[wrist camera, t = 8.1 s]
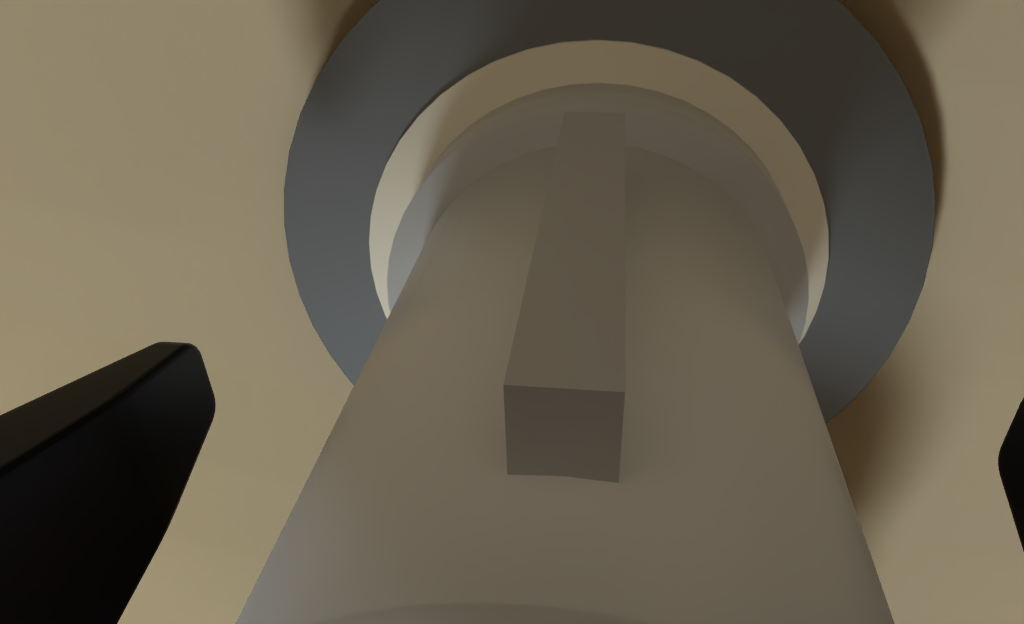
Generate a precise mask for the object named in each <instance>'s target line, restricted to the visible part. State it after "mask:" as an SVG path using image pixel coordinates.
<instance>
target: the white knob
mask: <svg viewBox="0 0 1024 624" xmlns="http://www.w3.org/2000/svg"><path fill="white" fill-rule="evenodd" d="M387 290H388V305H389V309H390V315H389V317H388V319H387V321H386V323H385V325H384V327H383V329H382V331H381V333H380V335H379V337H378V339H377V341H376V343H375V345H374V347H373V349H372V351H371V353H370V355H369V357H368V359H367V361H366V363H365V365H364V367H363V369H362V371H361V373H360V375H359V377H358V379H357V381H356V383H355V385H354V387H353V389H352V391H351V393H350V395H349V397H348V399H347V401H346V403H345V405H344V407H343V409H342V411H341V413H340V415H339V417H338V419H337V421H336V423H335V425H334V427H333V429H332V431H331V433H330V435H329V437H328V439H327V441H326V443H325V445H324V447H323V449H322V452H321V454H320V456H319V458H318V460H317V462H316V464H315V466H314V468H313V470H312V472H311V474H310V476H309V478H308V480H307V482H306V484H305V486H304V488H303V490H302V492H301V494H300V496H299V498H298V500H297V502H296V504H295V506H294V508H293V510H292V512H291V514H290V516H289V518H288V520H287V522H286V524H285V526H284V528H283V530H282V532H281V534H280V536H279V538H278V540H277V542H276V544H275V546H274V548H273V550H272V552H271V554H270V556H269V558H268V560H267V562H266V564H265V566H264V568H263V570H262V572H261V574H260V576H259V578H258V580H257V582H256V584H255V586H254V588H253V590H252V592H251V594H250V596H249V598H248V600H247V602H246V604H245V606H244V608H243V610H242V612H241V614H240V616H239V618H238V620H237V622H236V624H894V621H893V618H892V615H891V612H890V610H889V607H888V604H887V601H886V598H885V595H884V592H883V589H882V586H881V583H880V581H879V578H878V575H877V572H876V569H875V566H874V563H873V560H872V557H871V554H870V551H869V549H868V546H867V543H866V540H865V537H864V534H863V531H862V528H861V525H860V522H859V520H858V517H857V514H856V511H855V508H854V505H853V502H852V499H851V496H850V493H849V491H848V488H847V485H846V482H845V479H844V476H843V473H842V470H841V467H840V464H839V461H838V459H837V456H836V453H835V450H834V447H833V444H832V441H831V438H830V435H829V432H828V430H827V427H826V424H825V421H824V418H823V415H822V412H821V409H820V406H819V403H818V400H817V398H816V395H815V392H814V389H813V386H812V383H811V380H810V377H809V374H808V371H807V369H806V366H805V363H804V360H803V357H802V354H801V351H800V348H799V342H800V339H801V336H802V332H803V329H804V326H805V322H806V315H807V308H808V301H809V290H808V271H807V266H806V260H805V255H804V250H803V247H802V244H801V241H800V239H799V236H798V233H797V230H796V227H795V225H794V223H793V220H792V218H791V216H790V214H789V211H788V209H787V207H786V204H785V202H784V200H783V198H782V195H781V193H780V191H779V189H778V187H777V186H776V184H775V182H774V180H773V178H772V176H771V175H770V173H769V171H768V169H767V168H766V167H765V165H764V164H763V163H762V161H761V160H760V159H759V157H758V156H757V155H756V154H755V152H754V151H753V150H752V148H751V147H750V146H748V145H747V144H746V143H745V142H744V141H743V140H742V139H741V138H740V137H739V136H738V135H737V134H736V133H735V132H734V131H733V130H732V129H730V128H729V127H727V126H726V125H725V124H723V123H722V122H720V121H719V120H718V119H716V118H715V117H713V116H712V115H711V114H709V113H707V112H705V111H703V110H701V109H699V108H697V107H696V106H694V105H692V104H690V103H688V102H686V101H684V100H681V99H678V98H675V97H673V96H670V95H667V94H664V93H661V92H658V91H655V90H650V89H645V88H640V87H635V86H631V85H621V84H607V83H589V84H572V85H566V86H560V87H555V88H550V89H545V90H541V91H538V92H535V93H532V94H529V95H526V96H523V97H520V98H517V99H514V100H512V101H510V102H508V103H506V104H504V105H502V106H500V107H498V108H496V109H494V110H492V111H490V112H489V113H487V114H486V115H484V116H483V117H482V118H480V119H479V120H477V121H476V122H474V123H473V124H471V125H470V126H468V127H467V128H466V129H465V130H464V131H463V132H462V133H461V134H460V135H459V136H457V137H456V138H455V139H454V140H453V141H452V142H451V143H450V144H449V145H448V146H447V148H446V149H445V150H444V151H443V152H442V154H441V155H440V156H439V157H438V158H437V160H436V161H435V162H434V164H433V165H432V167H431V169H430V170H429V172H428V174H427V175H426V177H425V179H424V180H423V182H422V184H421V185H420V187H419V189H418V190H417V192H416V194H415V195H414V197H413V199H412V200H411V202H410V204H409V205H408V207H407V209H406V211H405V212H404V214H403V216H402V219H401V221H400V224H399V226H398V229H397V231H396V233H395V236H394V240H393V244H392V248H391V252H390V256H389V263H388V275H387Z"/></svg>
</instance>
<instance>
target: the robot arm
mask: <svg viewBox="0 0 1024 624" xmlns="http://www.w3.org/2000/svg"><path fill="white" fill-rule="evenodd" d="M214 414H215V397H214V393H213V390H212V387H211V384H210V381H209V378H208V375H207V372H206V368H205V365H204V362H203V359H202V356H201V354H200V351H199V350H198V349H197V347H196V346H194V345H192V344H190V343H177V342H158V343H155V344H153V345H151V346H148V347H146V348H144V349H142V350H140V351H138V352H136V353H133V354H131V355H129V356H127V357H125V358H123V359H121V360H118V361H116V362H114V363H112V364H110V365H108V366H105V367H103V368H101V369H99V370H97V371H95V372H93V373H90V374H88V375H86V376H84V377H82V378H80V379H78V380H75V381H73V382H71V383H69V384H67V385H65V386H62V387H60V388H58V389H56V390H54V391H52V392H50V393H47V394H45V395H43V396H41V397H39V398H37V399H35V400H32V401H30V402H28V403H26V404H24V405H22V406H19V407H17V408H15V409H13V410H11V411H9V412H7V413H4V414H2V415H0V624H117V623H118V621H119V619H120V617H121V615H122V614H123V612H124V610H125V608H126V606H127V604H128V602H129V601H130V599H131V597H132V595H133V593H134V591H135V589H136V588H137V586H138V584H139V582H140V580H141V578H142V577H143V575H144V573H145V571H146V569H147V567H148V565H149V564H150V562H151V560H152V558H153V556H154V554H155V552H156V551H157V549H158V547H159V545H160V543H161V541H162V539H163V537H164V535H165V533H166V531H167V529H168V527H169V524H170V522H171V520H172V518H173V515H174V513H175V511H176V509H177V506H178V504H179V501H180V499H181V496H182V494H183V492H184V489H185V487H186V484H187V482H188V479H189V477H190V474H191V472H192V470H193V467H194V465H195V462H196V460H197V457H198V455H199V453H200V450H201V448H202V445H203V443H204V440H205V438H206V435H207V433H208V431H209V428H210V426H211V423H212V421H213V418H214ZM998 466H999V473H1000V477H1001V480H1002V483H1003V486H1004V490H1005V493H1006V496H1007V499H1008V502H1009V506H1010V509H1011V512H1012V515H1013V518H1014V522H1015V525H1016V528H1017V531H1018V535H1019V538H1020V541H1021V544H1022V547H1023V551H1024V398H1023V400H1022V402H1021V403H1020V405H1019V408H1018V410H1017V412H1016V414H1015V417H1014V419H1013V421H1012V423H1011V426H1010V428H1009V430H1008V432H1007V435H1006V437H1005V439H1004V441H1003V444H1002V446H1001V449H1000V452H999V457H998Z"/></svg>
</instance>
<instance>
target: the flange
mask: <svg viewBox="0 0 1024 624" xmlns="http://www.w3.org/2000/svg"><path fill="white" fill-rule="evenodd" d="M589 83H607V84H621V85H631V86H635V87H640V88H645V89H650V90H655V91H658V92H661V93H664V94H667V95H670V96H673V97H675V98H678V99H681V100H684V101H686V102H688V103H690V104H692V105H694V106H696V107H697V108H699V109H701V110H703V111H705V112H707V113H709V114H711V115H712V116H713V117H715V118H716V119H718V120H719V121H720V122H722V123H723V124H725V125H726V126H727V127H729V128H730V129H732V130H733V131H734V132H735V133H736V134H737V135H738V136H739V137H740V138H741V139H742V140H743V141H744V142H745V143H746V144H747V145H748V146H750V147H751V148H752V150H753V151H754V152H755V154H756V155H757V156H758V157H759V159H760V160H761V161H762V163H763V164H764V165H765V167H766V168H767V169H768V171H769V173H770V175H771V176H772V178H773V180H774V182H775V184H776V186H777V187H778V189H779V191H780V193H781V195H782V198H783V200H784V202H785V204H786V207H787V209H788V211H789V214H790V216H791V218H792V220H793V223H794V225H795V227H796V230H797V233H798V236H799V239H800V241H801V244H802V247H803V250H804V255H805V260H806V266H807V271H808V290H809V301H808V308H807V315H806V322H805V326H804V329H803V332H802V336H801V339H800V342H799V348H800V351H801V354H802V357H803V360H804V363H805V366H806V369H807V371H808V374H809V377H810V380H811V383H812V386H813V389H814V392H815V395H816V398H817V400H818V403H819V406H820V409H821V412H822V415H823V418H824V421H825V423H827V422H828V421H829V420H831V419H832V418H833V417H834V416H836V415H837V414H838V413H839V412H841V411H842V410H843V409H844V408H845V407H846V406H847V405H848V404H849V403H850V402H851V401H852V400H853V399H854V398H855V397H856V396H857V394H858V393H859V392H860V391H861V390H862V389H863V388H864V387H865V386H866V385H867V384H868V383H869V382H870V380H871V379H872V378H873V376H874V375H875V374H876V372H877V371H878V370H879V369H880V367H881V366H882V365H883V363H884V362H885V361H886V359H887V358H888V357H889V356H890V354H891V352H892V350H893V349H894V347H895V345H896V343H897V342H898V340H899V338H900V337H901V335H902V333H903V331H904V330H905V328H906V326H907V324H908V323H909V320H910V318H911V315H912V313H913V310H914V308H915V305H916V303H917V300H918V298H919V295H920V293H921V290H922V288H923V285H924V281H925V276H926V272H927V268H928V264H929V260H930V255H931V251H932V246H933V233H934V220H935V207H936V206H935V194H934V182H933V170H932V162H931V158H930V154H929V150H928V146H927V143H926V139H925V135H924V131H923V127H922V123H921V120H920V118H919V116H918V113H917V111H916V109H915V107H914V104H913V102H912V100H911V97H910V95H909V93H908V91H907V88H906V86H905V84H904V82H903V80H902V78H901V77H900V75H899V74H898V72H897V70H896V69H895V67H894V66H893V64H892V63H891V61H890V60H889V58H888V57H887V55H886V54H885V52H884V51H883V49H882V48H881V46H880V45H879V43H878V42H877V40H876V39H875V38H874V37H873V36H872V35H871V34H870V33H869V32H868V31H867V29H866V28H865V27H864V26H863V25H862V24H861V23H860V22H859V21H858V20H857V19H856V17H855V16H854V15H853V14H852V13H851V12H850V11H849V10H848V9H847V8H846V7H845V6H844V5H843V4H842V3H841V2H840V1H838V0H380V1H379V2H377V3H376V4H375V5H374V6H373V7H371V8H370V9H369V11H368V12H367V13H366V14H365V15H364V16H363V17H362V18H361V19H360V21H359V22H358V23H357V24H356V25H355V26H354V27H353V28H352V29H351V31H350V32H349V33H348V34H347V35H346V36H345V37H344V38H343V39H342V41H341V42H340V43H339V45H338V46H337V48H336V49H335V51H334V52H333V54H332V55H331V57H330V59H329V60H328V62H327V63H326V65H325V66H324V68H323V69H322V71H321V72H320V74H319V75H318V77H317V79H316V81H315V83H314V85H313V87H312V90H311V92H310V94H309V96H308V98H307V100H306V103H305V105H304V107H303V109H302V111H301V113H300V117H299V120H298V124H297V127H296V130H295V134H294V137H293V141H292V144H291V148H290V151H289V158H288V165H287V172H286V180H285V187H284V225H285V232H286V239H287V246H288V253H289V259H290V264H291V267H292V271H293V274H294V277H295V281H296V284H297V288H298V291H299V295H300V297H301V299H302V302H303V304H304V306H305V308H306V311H307V313H308V315H309V318H310V320H311V322H312V325H313V327H314V328H315V330H316V332H317V333H318V335H319V337H320V338H321V340H322V342H323V344H324V345H325V347H326V349H327V350H328V352H329V354H330V355H331V357H332V358H333V359H334V361H335V362H336V363H337V364H338V366H339V367H340V368H341V370H342V371H343V372H344V374H345V375H346V376H347V378H348V379H349V380H350V382H351V383H352V384H353V385H355V383H356V381H357V379H358V377H359V375H360V373H361V371H362V369H363V367H364V365H365V363H366V361H367V359H368V357H369V355H370V353H371V351H372V349H373V347H374V345H375V343H376V341H377V339H378V337H379V335H380V333H381V331H382V329H383V327H384V325H385V323H386V321H387V319H388V317H389V315H390V309H389V305H388V290H387V275H388V263H389V256H390V252H391V248H392V244H393V240H394V236H395V233H396V231H397V229H398V226H399V224H400V221H401V219H402V216H403V214H404V212H405V211H406V209H407V207H408V205H409V204H410V202H411V200H412V199H413V197H414V195H415V194H416V192H417V190H418V189H419V187H420V185H421V184H422V182H423V180H424V179H425V177H426V175H427V174H428V172H429V170H430V169H431V167H432V165H433V164H434V162H435V161H436V160H437V158H438V157H439V156H440V155H441V154H442V152H443V151H444V150H445V149H446V148H447V146H448V145H449V144H450V143H451V142H452V141H453V140H454V139H455V138H456V137H457V136H459V135H460V134H461V133H462V132H463V131H464V130H465V129H466V128H467V127H468V126H470V125H471V124H473V123H474V122H476V121H477V120H479V119H480V118H482V117H483V116H484V115H486V114H487V113H489V112H490V111H492V110H494V109H496V108H498V107H500V106H502V105H504V104H506V103H508V102H510V101H512V100H514V99H517V98H520V97H523V96H526V95H529V94H532V93H535V92H538V91H541V90H545V89H550V88H555V87H560V86H566V85H572V84H589Z"/></svg>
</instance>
